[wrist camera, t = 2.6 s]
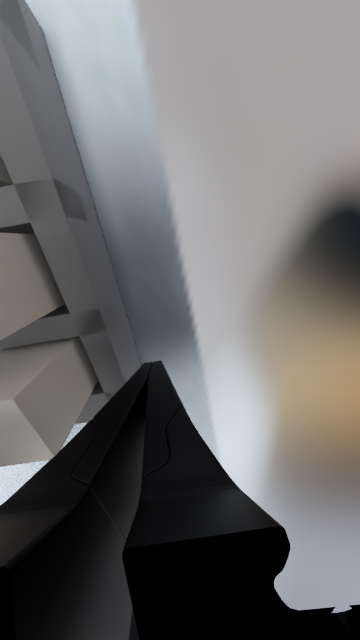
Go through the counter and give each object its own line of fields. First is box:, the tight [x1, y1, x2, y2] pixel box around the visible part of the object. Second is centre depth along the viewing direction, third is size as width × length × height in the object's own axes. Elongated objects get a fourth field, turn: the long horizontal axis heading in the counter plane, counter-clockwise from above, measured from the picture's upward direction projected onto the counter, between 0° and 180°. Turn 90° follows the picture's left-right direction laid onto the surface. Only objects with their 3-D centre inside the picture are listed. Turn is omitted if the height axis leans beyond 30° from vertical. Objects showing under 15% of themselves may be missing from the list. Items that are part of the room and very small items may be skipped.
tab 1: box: [0, 336, 99, 467], centre depth 9 cm, size 3×4×5 cm
